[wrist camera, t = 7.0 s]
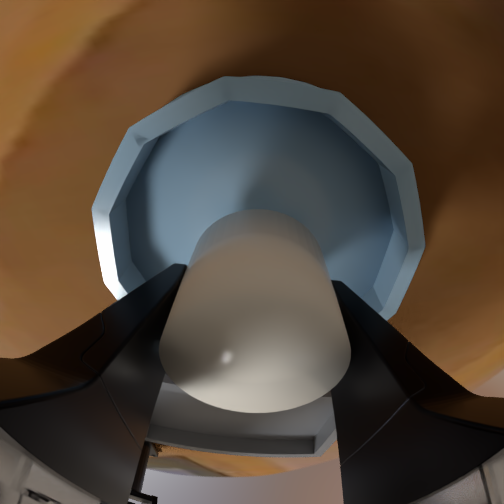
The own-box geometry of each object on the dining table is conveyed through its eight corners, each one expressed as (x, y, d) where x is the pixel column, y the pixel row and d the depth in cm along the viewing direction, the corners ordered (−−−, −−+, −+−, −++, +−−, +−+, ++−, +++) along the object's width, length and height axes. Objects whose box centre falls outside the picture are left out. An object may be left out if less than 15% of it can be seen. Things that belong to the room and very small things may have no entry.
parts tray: (318, 434, 21) (320, 456, 19) (145, 418, 21) (139, 439, 19) (365, 366, 16) (373, 395, 14) (117, 341, 15) (104, 368, 14)
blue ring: (355, 349, 15) (363, 378, 13) (131, 326, 15) (119, 354, 13) (434, 118, 9) (465, 127, 7) (111, 76, 8) (81, 75, 7)
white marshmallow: (307, 324, 11) (319, 415, 7) (192, 312, 11) (168, 401, 7) (337, 219, 9) (380, 304, 5) (193, 201, 9) (148, 280, 5)
